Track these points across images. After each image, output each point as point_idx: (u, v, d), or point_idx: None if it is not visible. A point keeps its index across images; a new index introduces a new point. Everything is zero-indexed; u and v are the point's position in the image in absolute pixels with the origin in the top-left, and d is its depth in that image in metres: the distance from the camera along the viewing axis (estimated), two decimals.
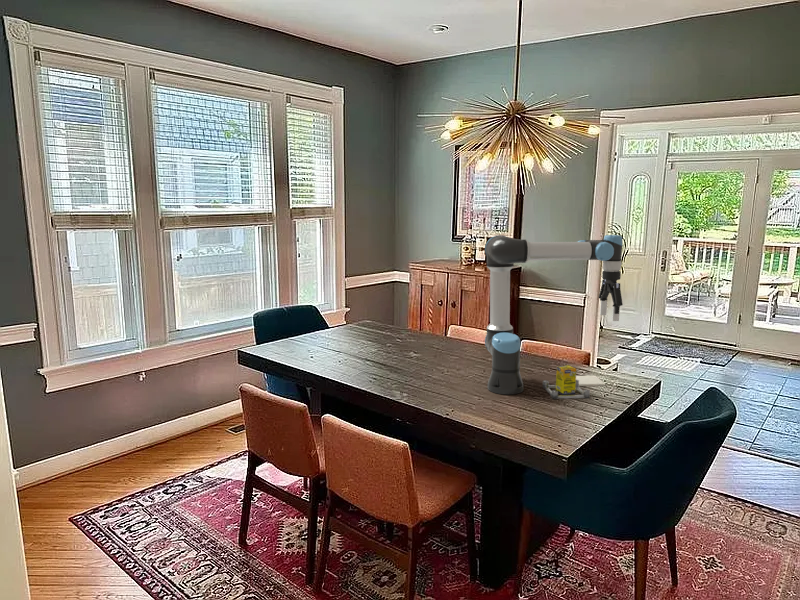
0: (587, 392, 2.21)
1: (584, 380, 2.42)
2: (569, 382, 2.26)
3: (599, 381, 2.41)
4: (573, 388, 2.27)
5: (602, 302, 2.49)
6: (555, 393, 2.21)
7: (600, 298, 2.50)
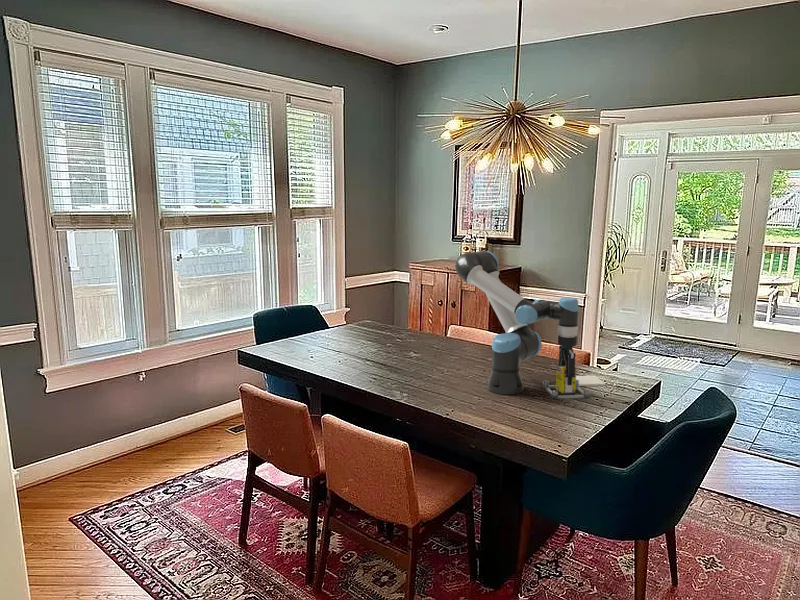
0: (587, 392, 2.21)
1: (584, 380, 2.42)
2: None
3: (599, 381, 2.41)
4: (573, 388, 2.27)
5: None
6: (555, 393, 2.21)
7: None
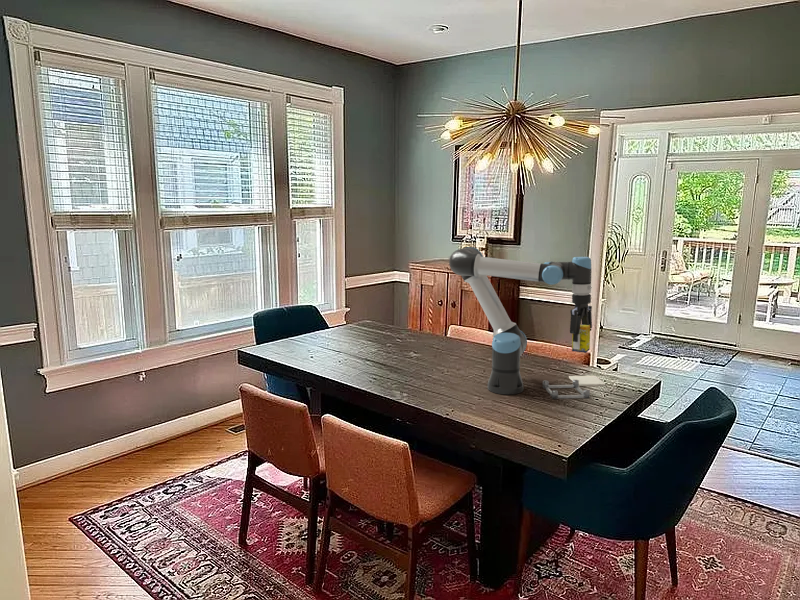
0: (587, 392, 2.21)
1: (584, 380, 2.42)
2: None
3: (599, 381, 2.41)
4: (583, 346, 2.29)
5: None
6: (555, 393, 2.21)
7: None
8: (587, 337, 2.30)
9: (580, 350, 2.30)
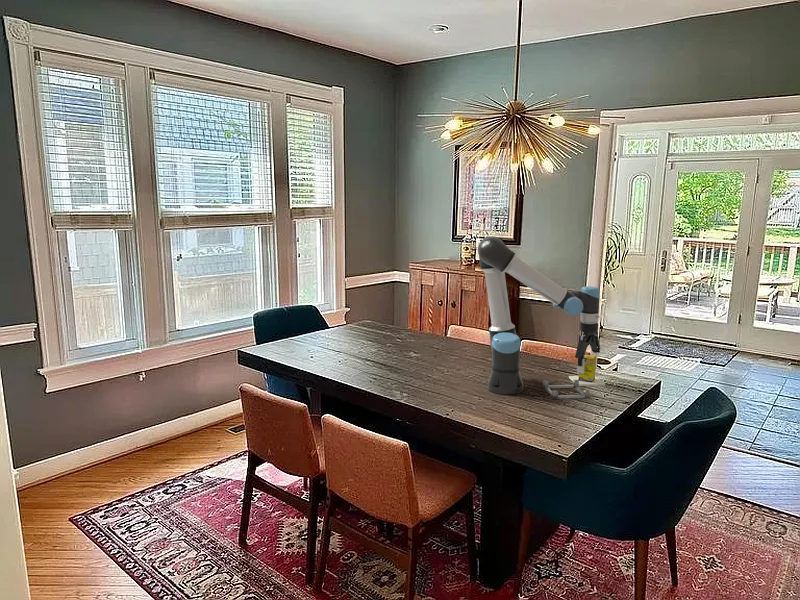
0: (587, 392, 2.21)
1: None
2: (585, 369, 2.40)
3: (599, 381, 2.41)
4: (589, 376, 2.39)
5: (592, 353, 2.46)
6: (555, 393, 2.21)
7: None
8: (593, 367, 2.40)
9: (586, 379, 2.40)
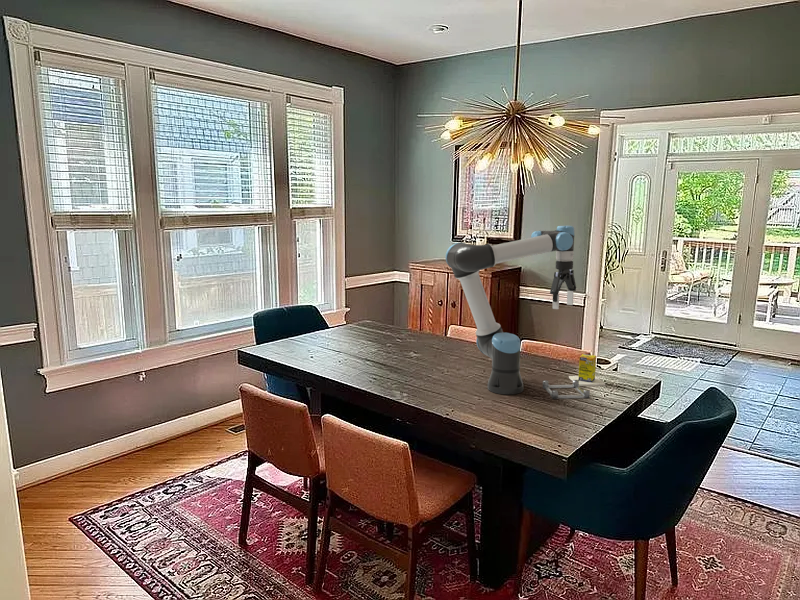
0: (587, 392, 2.21)
1: None
2: (585, 369, 2.40)
3: (599, 381, 2.41)
4: (589, 376, 2.39)
5: (568, 292, 2.54)
6: (555, 393, 2.21)
7: None
8: (593, 367, 2.40)
9: (586, 379, 2.40)
